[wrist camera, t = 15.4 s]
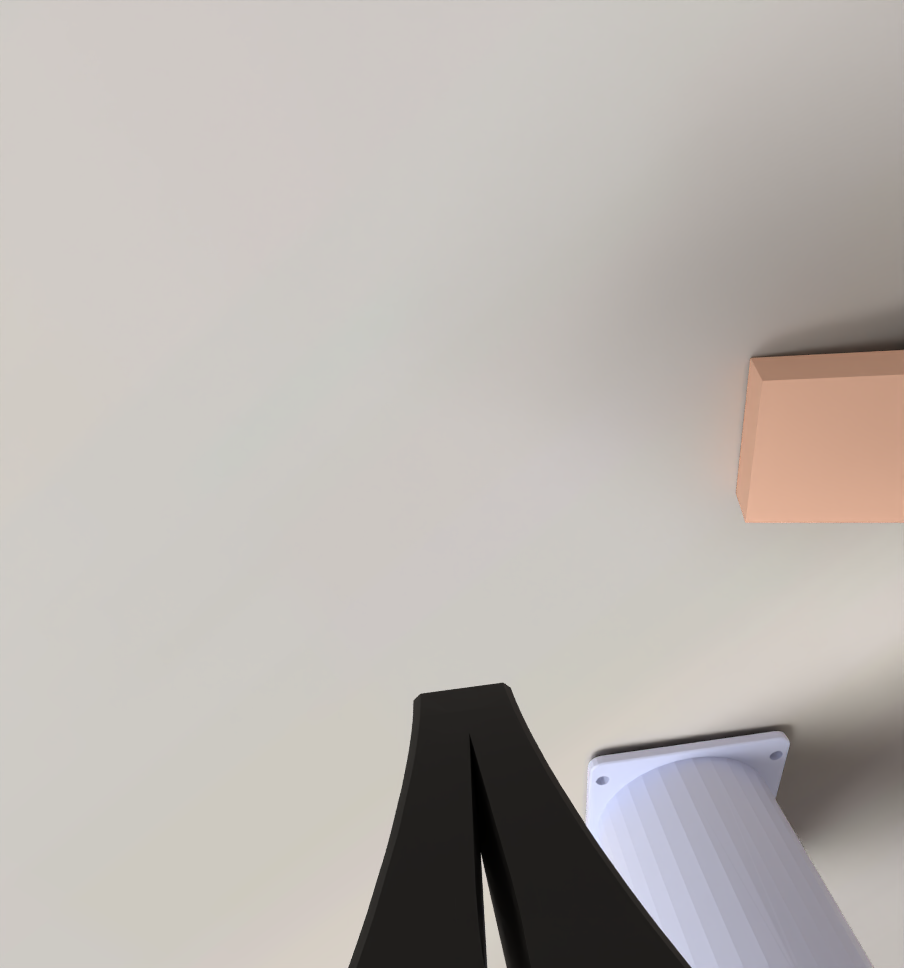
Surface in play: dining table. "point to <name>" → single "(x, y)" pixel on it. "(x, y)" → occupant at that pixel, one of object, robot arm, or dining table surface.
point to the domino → (823, 439)
